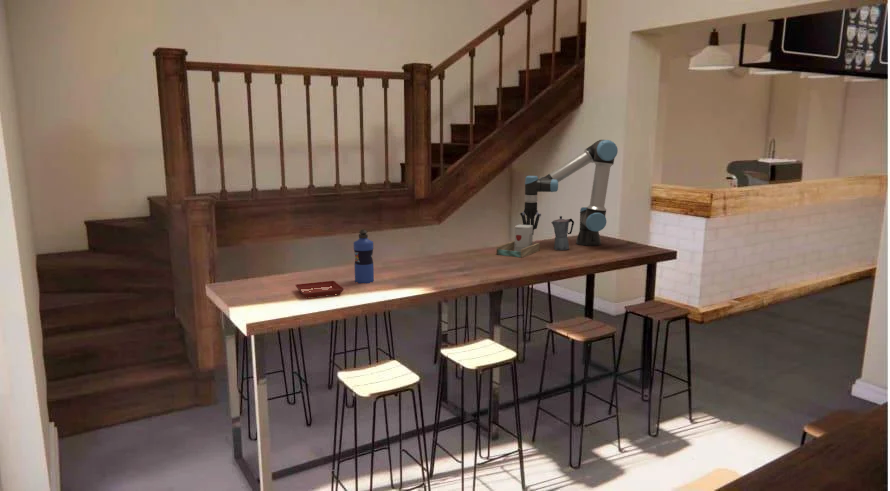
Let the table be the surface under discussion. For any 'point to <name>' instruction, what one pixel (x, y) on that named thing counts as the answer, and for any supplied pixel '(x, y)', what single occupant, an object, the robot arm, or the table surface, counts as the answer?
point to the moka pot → (561, 233)
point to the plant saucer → (319, 292)
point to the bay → (524, 252)
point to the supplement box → (523, 236)
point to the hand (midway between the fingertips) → (529, 240)
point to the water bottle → (363, 258)
